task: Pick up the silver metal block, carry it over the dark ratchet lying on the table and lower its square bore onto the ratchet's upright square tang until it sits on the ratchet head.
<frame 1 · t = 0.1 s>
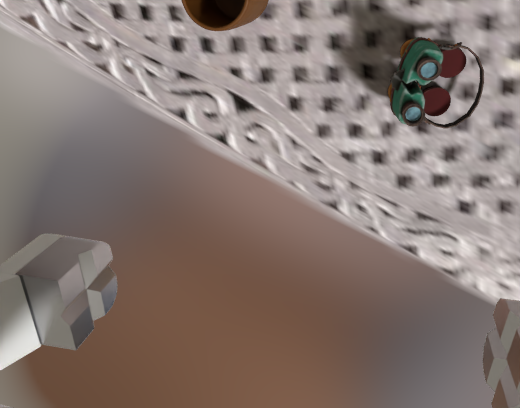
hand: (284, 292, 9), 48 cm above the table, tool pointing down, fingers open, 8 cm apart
binoculars: (432, 76, 51), on the table
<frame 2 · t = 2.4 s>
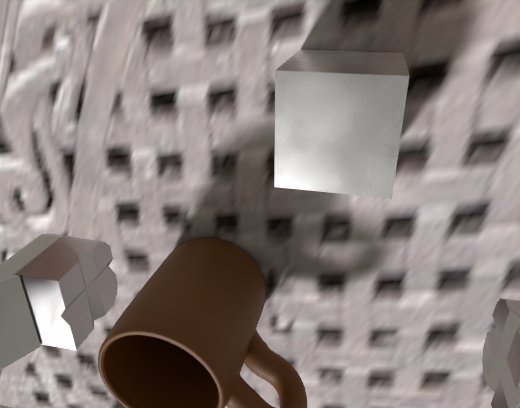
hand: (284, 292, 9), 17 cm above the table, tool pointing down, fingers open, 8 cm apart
silver metal block: (346, 101, 24), on the table
mug: (245, 291, 32), on the table
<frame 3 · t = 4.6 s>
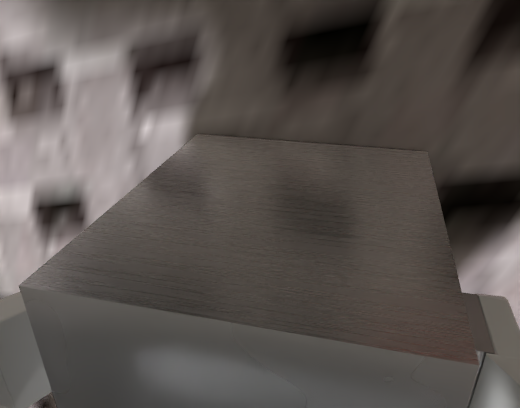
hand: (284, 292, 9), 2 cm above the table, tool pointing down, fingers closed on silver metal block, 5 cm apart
silver metal block: (301, 240, 11), on the table, touching gripper
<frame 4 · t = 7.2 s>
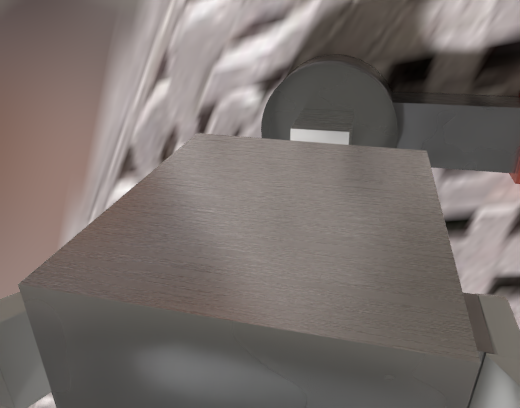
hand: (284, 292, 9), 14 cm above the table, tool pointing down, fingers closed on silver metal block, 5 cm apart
silver metal block: (301, 239, 11), point 12 cm above the table, touching gripper
ratchet: (332, 118, 22), on the table
when the fingers open (5 cm above the table, at t = 10.0 s): silver metal block stays where it is, resting on ratchet.
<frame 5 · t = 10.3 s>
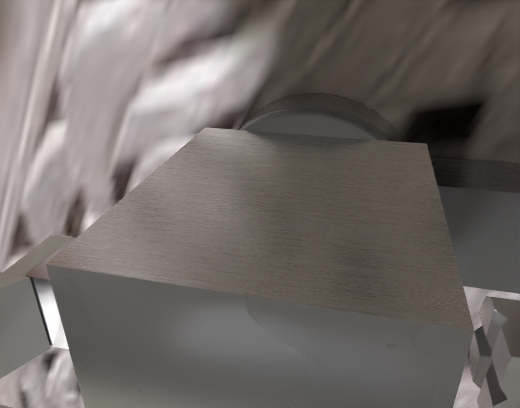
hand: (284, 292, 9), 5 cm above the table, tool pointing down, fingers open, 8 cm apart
silver metal block: (305, 230, 12), point 2 cm above the table, touching ratchet
ratchet: (315, 190, 14), on the table
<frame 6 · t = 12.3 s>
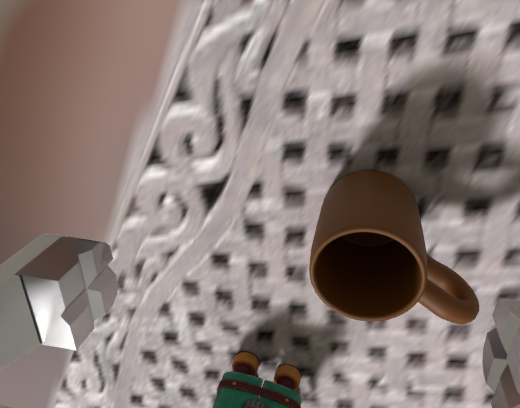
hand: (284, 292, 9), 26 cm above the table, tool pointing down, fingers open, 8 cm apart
binoculars: (263, 384, 49), on the table
mug: (393, 220, 36), on the table
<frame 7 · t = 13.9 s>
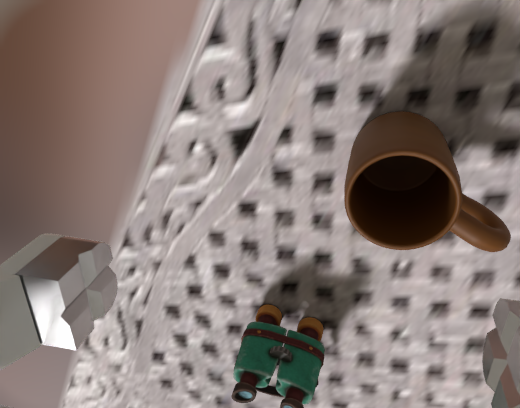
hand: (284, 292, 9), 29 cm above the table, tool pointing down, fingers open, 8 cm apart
binoculars: (285, 338, 50), on the table
mug: (421, 164, 37), on the table
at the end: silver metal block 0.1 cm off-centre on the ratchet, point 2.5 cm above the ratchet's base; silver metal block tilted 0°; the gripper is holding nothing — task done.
